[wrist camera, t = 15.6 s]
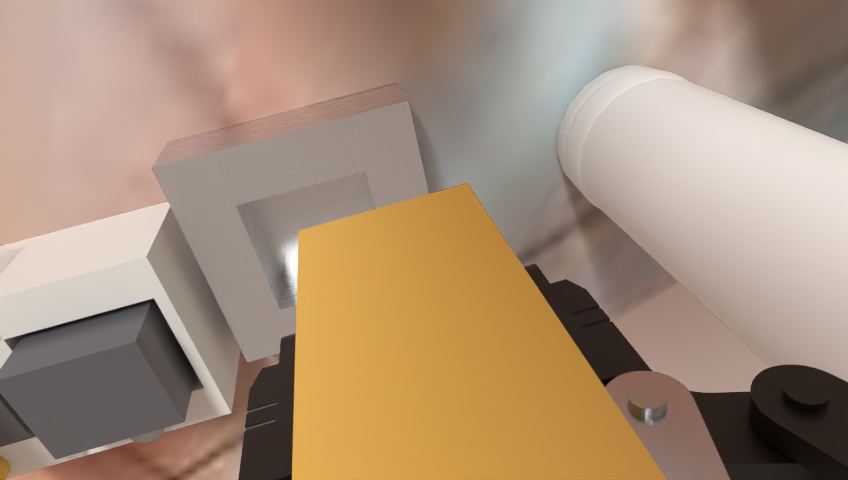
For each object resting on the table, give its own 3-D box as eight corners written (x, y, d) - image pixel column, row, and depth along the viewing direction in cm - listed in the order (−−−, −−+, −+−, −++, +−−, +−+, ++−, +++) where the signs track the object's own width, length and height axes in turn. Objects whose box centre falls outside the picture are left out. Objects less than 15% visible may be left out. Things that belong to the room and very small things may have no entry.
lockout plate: (167, 142, 28) (151, 167, 25) (397, 83, 29) (408, 100, 26) (251, 324, 34) (247, 362, 31) (440, 271, 35) (453, 303, 32)
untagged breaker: (39, 311, 28) (-9, 382, 23) (160, 278, 28) (135, 341, 24) (90, 384, 30) (55, 459, 26) (201, 352, 31) (184, 422, 26)
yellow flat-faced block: (298, 231, 13) (286, 687, 5) (467, 183, 13) (713, 547, 5) (348, 361, 15) (396, 837, 7) (493, 318, 15) (701, 730, 7)
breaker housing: (-137, 282, 29) (-245, 369, 23) (173, 200, 30) (142, 263, 24) (-16, 420, 34) (-79, 518, 28) (244, 346, 35) (233, 426, 29)
